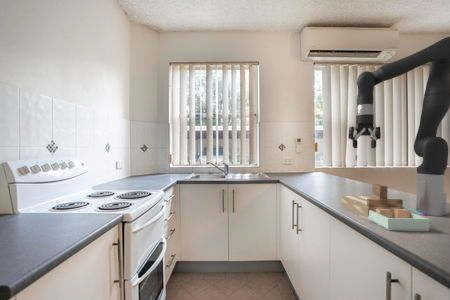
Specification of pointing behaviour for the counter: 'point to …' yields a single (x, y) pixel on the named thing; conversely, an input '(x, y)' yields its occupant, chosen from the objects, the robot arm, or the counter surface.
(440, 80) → the robot arm
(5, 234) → the counter surface
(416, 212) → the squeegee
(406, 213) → the tile
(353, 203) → the wooden board
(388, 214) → the tile
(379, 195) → the wooden t-shaped block
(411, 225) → the box
